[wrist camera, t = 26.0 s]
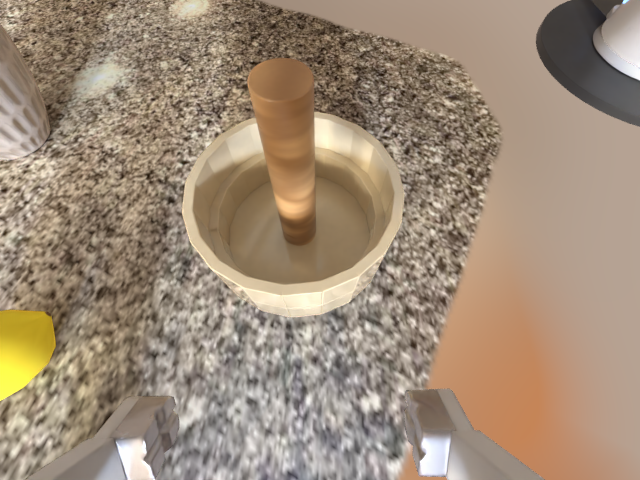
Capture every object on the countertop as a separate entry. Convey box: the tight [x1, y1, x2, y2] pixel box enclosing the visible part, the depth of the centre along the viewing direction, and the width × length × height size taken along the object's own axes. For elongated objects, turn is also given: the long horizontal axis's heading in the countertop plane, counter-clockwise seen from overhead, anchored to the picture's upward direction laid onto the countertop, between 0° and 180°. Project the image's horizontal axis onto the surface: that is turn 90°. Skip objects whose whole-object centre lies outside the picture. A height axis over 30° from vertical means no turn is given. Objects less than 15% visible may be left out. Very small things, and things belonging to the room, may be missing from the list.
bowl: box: [182, 111, 405, 317], centre depth 22 cm, size 14×14×7 cm
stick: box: [247, 58, 316, 246], centre depth 19 cm, size 3×3×14 cm
